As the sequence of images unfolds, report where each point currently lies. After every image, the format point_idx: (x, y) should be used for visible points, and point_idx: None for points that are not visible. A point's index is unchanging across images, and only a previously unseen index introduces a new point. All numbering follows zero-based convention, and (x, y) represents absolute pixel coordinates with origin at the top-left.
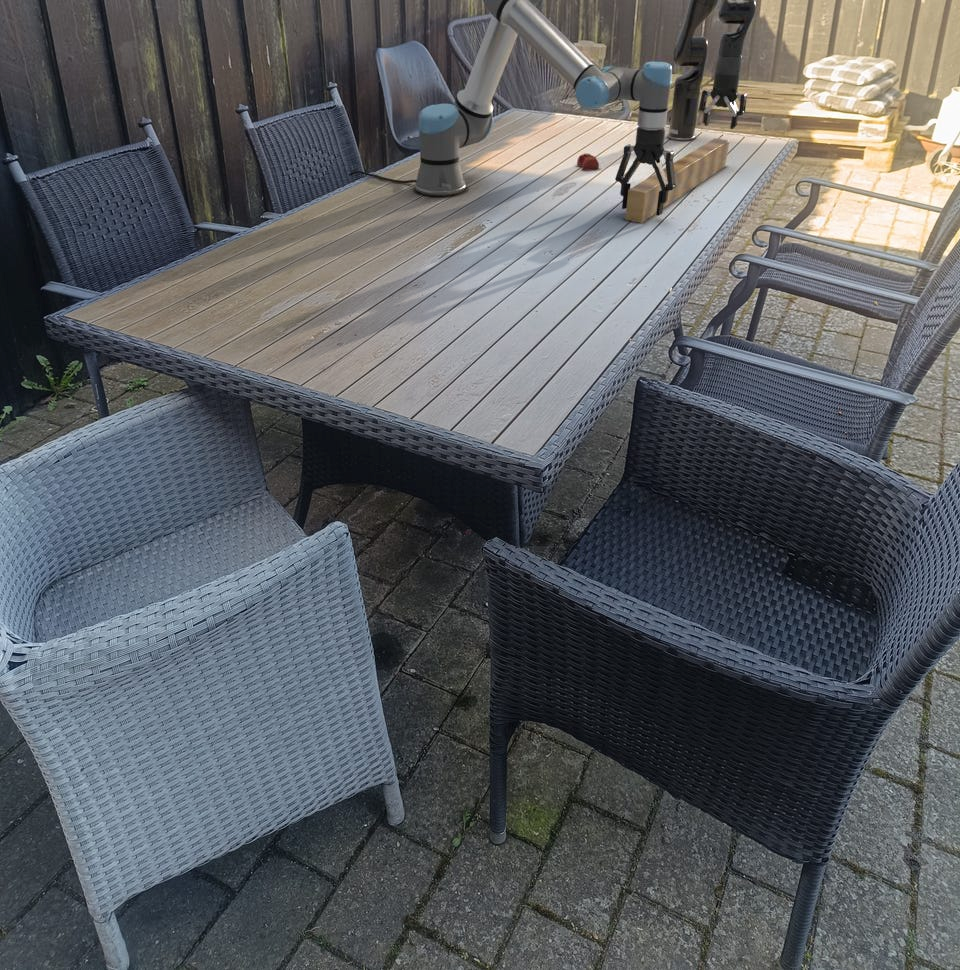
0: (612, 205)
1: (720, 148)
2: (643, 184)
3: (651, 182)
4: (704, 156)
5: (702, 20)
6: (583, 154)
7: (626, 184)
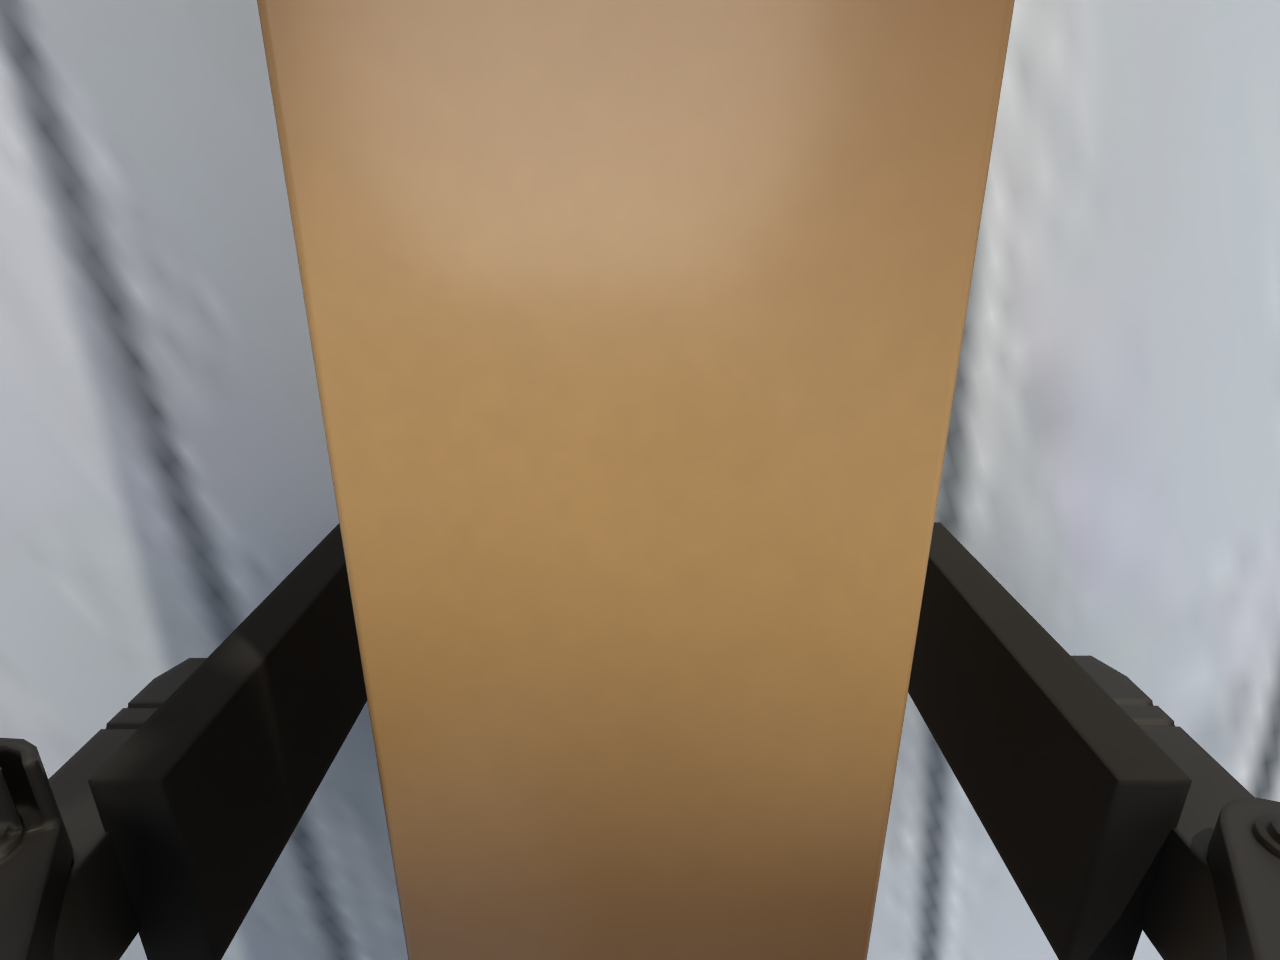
0: (53, 336)
1: None
2: (532, 795)
3: (651, 515)
4: None
5: None
6: None
7: (133, 883)
